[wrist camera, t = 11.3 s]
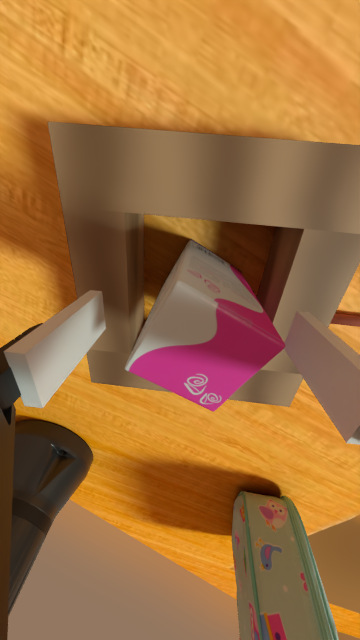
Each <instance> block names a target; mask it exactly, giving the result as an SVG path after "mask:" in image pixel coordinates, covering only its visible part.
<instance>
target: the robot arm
mask: <svg viewBox="0 0 360 640" xmlns="http://www.w3.org/2000/svg"><path fill="white" fill-rule="evenodd" d="M105 329H106V326H105V316H104V306H103V296H102V291H94V290H90V291H88V292H87V293H85V294H84V295H83V296H81V297H80V298H78V299H77V300H76V301H74V302H73V303H71V304H70V305H68V306H67V307H66V308H64V309H63V310H61V311H60V312H59V313H57V314H56V315H54V316H53V317H52V318H50V319H49V320H47V321H46V322H44V323H41V324H38V325H36V326H33V327H31V328H29V329H28V330H26V331H25V332H23V333H22V335H19V336H17V337H16V338H15V340H14V339H13V340H12V341H10V342H9V343H7V344H6V345H4V346H3V347H1V348H0V640H7V632H8V616H9V614H10V612H11V610H12V608H13V606H14V604H15V602H16V599H17V597H18V595H19V593H20V591H21V589H22V586H23V585H24V582H25V580H26V578H27V576H28V574H29V571H30V570H31V567H32V565H33V563H34V561H35V559H36V557H37V555H38V553H39V550H40V548H41V546H42V544H43V542H44V540H45V537H46V535H47V533H48V531H49V529H50V527H51V525H52V523H53V521H54V519H55V517H56V515H57V514H58V513H59V511H60V510H61V509H62V507H63V506H64V505H65V504H66V502H67V501H68V500H69V498H70V497H71V496H72V494H73V493H74V492H75V490H76V489H77V488H78V487H79V485H80V484H81V483H82V481H83V480H84V479H85V477H86V475H87V473H88V471H89V469H90V466H91V464H92V461H93V454H92V451H91V449H90V448H89V446H88V445H87V444H86V443H85V442H84V441H83V440H82V439H81V438H80V437H78V436H77V435H76V434H74V433H72V432H71V431H69V430H67V429H65V428H63V427H60V426H58V425H55V424H52V423H48V422H44V421H37V420H24V421H19V422H16V423H15V413H16V409H15V406H14V404H13V403H14V402H15V401H16V400H17V399H18V398H19V397H20V396H21V398H22V400H23V403H24V406H29V407H38V408H43V407H44V406H45V405H46V403H47V402H48V401H49V400H50V398H51V397H52V396H53V395H54V393H55V392H56V391H57V390H58V388H59V387H60V386H61V384H62V383H63V382H64V381H65V379H66V378H67V377H68V376H69V374H70V373H71V372H72V371H73V369H74V368H75V367H76V366H77V364H78V363H79V362H80V361H81V359H82V358H83V357H84V355H85V354H86V353H87V352H88V350H89V349H90V348H91V347H92V345H93V344H94V343H95V342H96V340H97V339H98V338H99V337H100V335H101V334H102V333H103V331H104V330H105ZM285 345H286V346H285V348H284V350H285V351H286V353H287V354H288V356H289V357H290V359H291V360H292V362H293V363H294V365H295V366H296V368H297V369H298V371H299V372H300V374H301V375H302V377H303V378H304V380H305V381H306V383H307V384H308V386H309V387H310V389H311V390H312V392H313V393H314V395H315V396H316V398H317V399H318V401H319V402H320V404H321V405H322V407H323V408H324V410H325V411H326V413H327V414H328V416H329V417H330V419H331V420H332V422H333V423H334V425H335V426H336V428H337V429H338V431H339V432H340V434H341V435H342V437H343V438H344V440H345V441H346V443H352V444H360V355H359V354H358V353H357V352H355V351H354V350H353V349H352V348H351V347H350V346H348V345H347V344H346V343H345V342H344V341H342V340H341V339H340V338H339V337H338V336H337V335H335V334H334V333H333V332H332V331H331V330H329V329H328V328H327V327H326V326H325V325H324V324H322V323H321V322H320V321H319V320H318V319H317V318H315V317H314V316H313V315H312V314H311V313H309V312H302V311H297V312H296V314H295V317H294V320H293V322H292V325H291V328H290V330H289V333H288V335H287V338H286V341H285Z"/></svg>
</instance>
